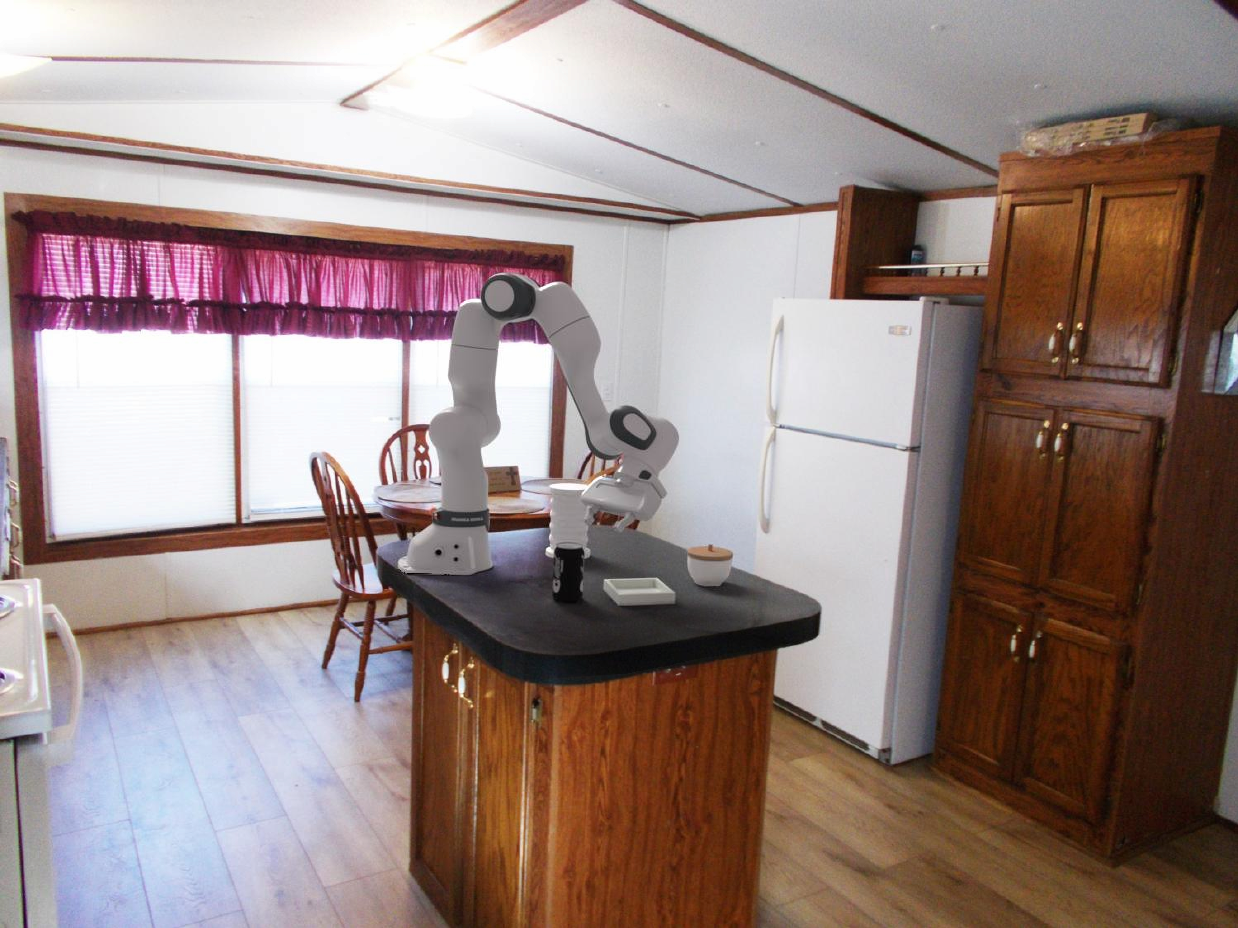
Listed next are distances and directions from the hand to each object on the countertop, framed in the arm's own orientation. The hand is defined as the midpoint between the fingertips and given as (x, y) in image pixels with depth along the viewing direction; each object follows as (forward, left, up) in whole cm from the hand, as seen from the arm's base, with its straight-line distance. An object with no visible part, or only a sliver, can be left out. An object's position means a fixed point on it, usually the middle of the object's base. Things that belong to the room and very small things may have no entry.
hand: (601, 526), depth 201 cm
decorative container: (+1, +35, -15) cm, 38 cm away
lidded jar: (+28, +4, -15) cm, 32 cm away
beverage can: (-8, -5, -15) cm, 18 cm away
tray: (+8, -5, -15) cm, 17 cm away
